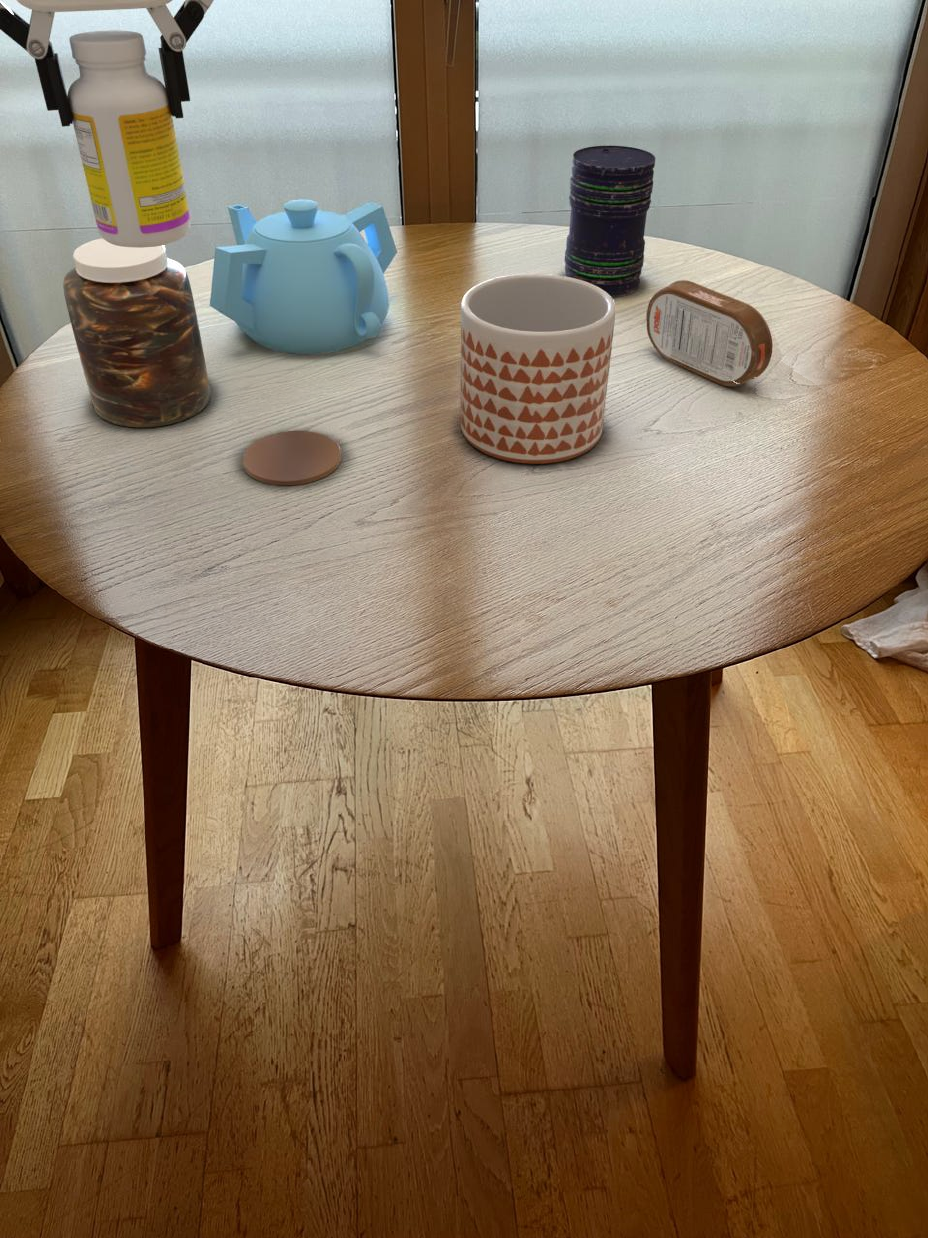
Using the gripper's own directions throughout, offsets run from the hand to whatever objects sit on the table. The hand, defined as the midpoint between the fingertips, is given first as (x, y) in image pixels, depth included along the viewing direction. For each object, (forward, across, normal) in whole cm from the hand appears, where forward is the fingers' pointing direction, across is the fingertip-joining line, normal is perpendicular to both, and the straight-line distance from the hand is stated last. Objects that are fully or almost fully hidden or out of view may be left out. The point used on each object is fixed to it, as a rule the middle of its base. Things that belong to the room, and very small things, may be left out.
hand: (122, 115), depth 66 cm
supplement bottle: (+8, 0, 0) cm, 8 cm away
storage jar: (+30, +54, +32) cm, 70 cm away
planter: (+30, +32, 0) cm, 44 cm away
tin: (+30, +54, +6) cm, 62 cm away
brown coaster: (+30, +9, +1) cm, 31 cm away
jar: (+30, -2, +17) cm, 35 cm away
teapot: (+30, +16, +30) cm, 46 cm away
